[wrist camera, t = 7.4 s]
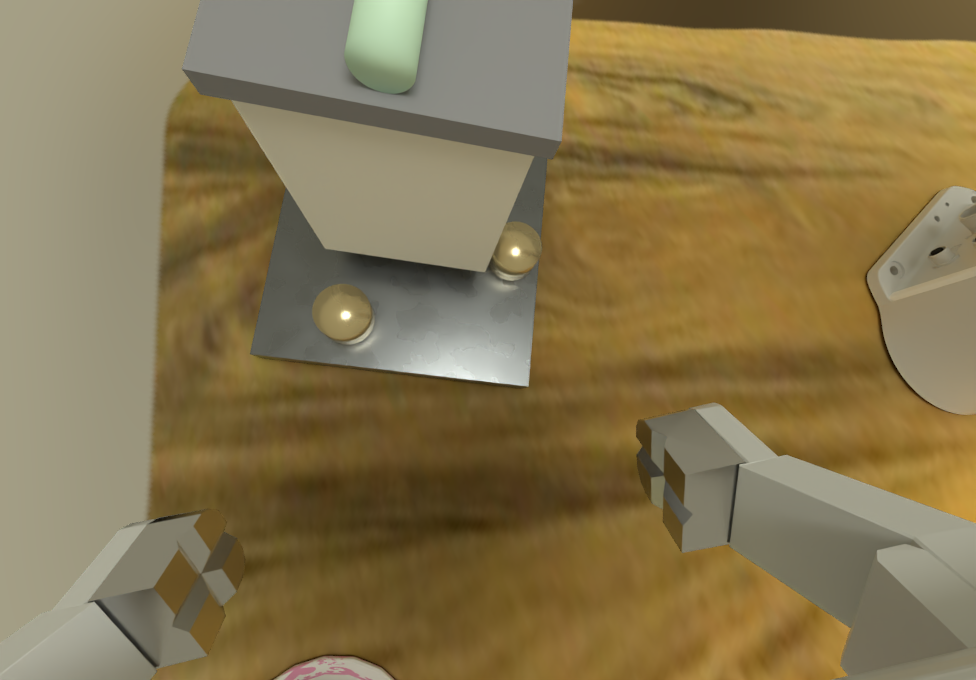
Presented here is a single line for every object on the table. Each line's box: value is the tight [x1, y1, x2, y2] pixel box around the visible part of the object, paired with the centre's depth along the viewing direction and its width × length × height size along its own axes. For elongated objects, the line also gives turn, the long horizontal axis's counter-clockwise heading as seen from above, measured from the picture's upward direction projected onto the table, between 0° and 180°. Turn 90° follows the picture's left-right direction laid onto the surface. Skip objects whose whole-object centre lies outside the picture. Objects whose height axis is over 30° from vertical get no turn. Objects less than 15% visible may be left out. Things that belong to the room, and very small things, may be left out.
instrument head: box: [182, 0, 573, 272], centre depth 21 cm, size 6×11×20 cm, turn 84°
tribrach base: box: [250, 156, 547, 388], centre depth 31 cm, size 19×19×4 cm
